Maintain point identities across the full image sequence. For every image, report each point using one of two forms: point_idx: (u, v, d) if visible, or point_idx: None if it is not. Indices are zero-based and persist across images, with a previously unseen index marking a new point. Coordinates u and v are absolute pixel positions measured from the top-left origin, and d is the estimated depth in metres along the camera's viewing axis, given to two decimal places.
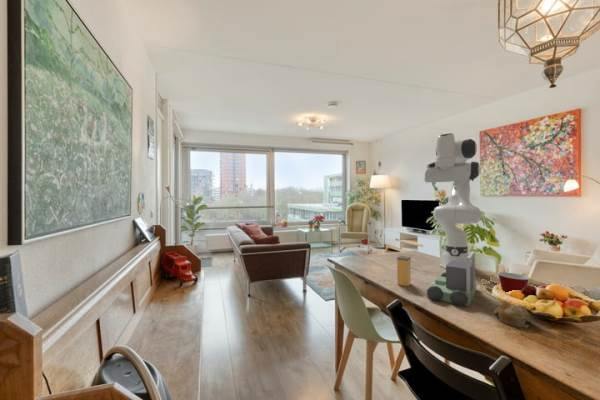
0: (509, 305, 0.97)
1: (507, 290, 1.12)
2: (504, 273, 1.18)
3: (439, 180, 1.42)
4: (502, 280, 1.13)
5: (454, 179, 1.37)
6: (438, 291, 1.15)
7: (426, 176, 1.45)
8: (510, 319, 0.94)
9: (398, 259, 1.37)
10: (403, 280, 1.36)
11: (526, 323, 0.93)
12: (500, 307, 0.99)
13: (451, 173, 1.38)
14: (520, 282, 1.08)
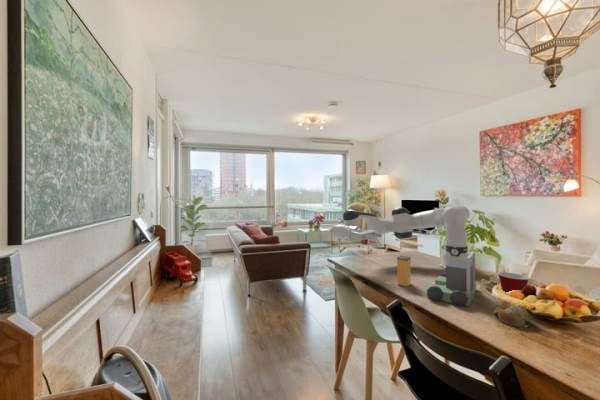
0: (509, 305, 0.97)
1: (507, 290, 1.12)
2: (504, 273, 1.18)
3: (366, 232, 1.49)
4: (502, 280, 1.13)
5: (371, 231, 1.55)
6: (438, 291, 1.15)
7: (356, 232, 1.46)
8: (509, 318, 0.94)
9: (398, 259, 1.37)
10: (403, 280, 1.36)
11: (525, 323, 0.93)
12: (500, 307, 0.99)
13: (365, 231, 1.56)
14: (520, 282, 1.08)
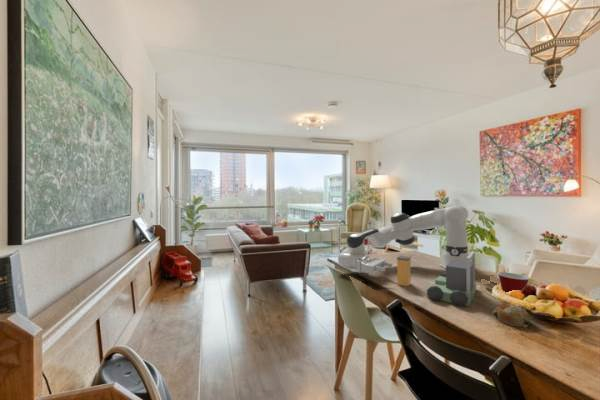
0: (508, 305, 0.97)
1: (507, 290, 1.12)
2: (504, 273, 1.18)
3: (376, 263, 1.44)
4: (502, 280, 1.13)
5: (381, 260, 1.49)
6: (438, 291, 1.15)
7: (367, 264, 1.40)
8: (508, 318, 0.94)
9: (398, 259, 1.37)
10: (403, 280, 1.36)
11: (525, 323, 0.93)
12: (499, 307, 0.99)
13: (374, 260, 1.50)
14: (520, 282, 1.08)
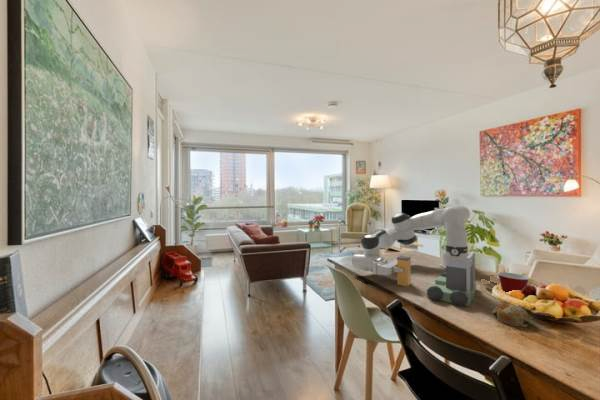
0: (507, 305, 0.97)
1: (507, 290, 1.12)
2: (504, 273, 1.18)
3: (393, 265, 1.39)
4: (502, 280, 1.13)
5: None
6: (438, 291, 1.15)
7: (384, 266, 1.35)
8: (508, 318, 0.94)
9: (398, 259, 1.37)
10: (403, 280, 1.36)
11: (524, 323, 0.93)
12: (498, 307, 0.99)
13: (390, 262, 1.45)
14: (520, 282, 1.08)
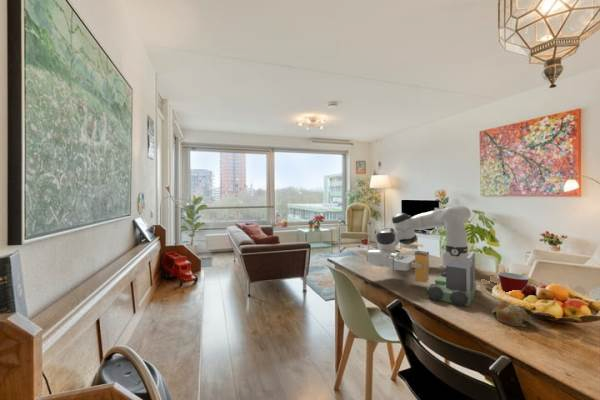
0: (507, 304, 0.97)
1: (507, 290, 1.12)
2: (504, 273, 1.18)
3: (410, 260, 1.33)
4: (502, 280, 1.13)
5: (414, 257, 1.38)
6: (438, 291, 1.15)
7: (401, 261, 1.30)
8: (507, 318, 0.94)
9: (416, 254, 1.31)
10: (421, 276, 1.30)
11: (523, 322, 0.93)
12: (498, 306, 0.99)
13: (407, 257, 1.39)
14: (520, 282, 1.08)
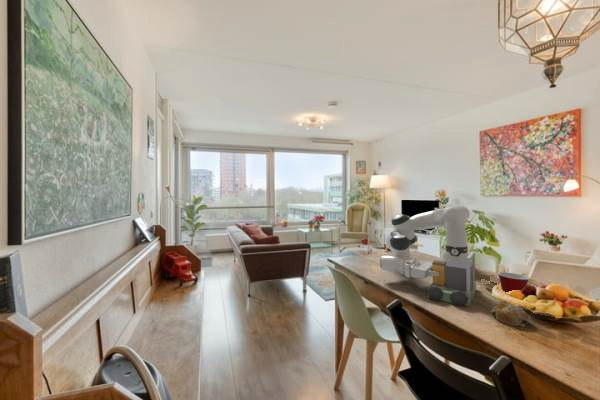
0: (506, 304, 0.98)
1: (507, 290, 1.12)
2: (504, 273, 1.18)
3: (428, 267, 1.28)
4: (502, 280, 1.13)
5: (431, 264, 1.34)
6: (438, 291, 1.15)
7: (419, 268, 1.25)
8: (506, 318, 0.94)
9: (434, 264, 1.26)
10: None
11: (522, 322, 0.93)
12: (497, 306, 0.99)
13: (423, 264, 1.35)
14: (520, 282, 1.08)
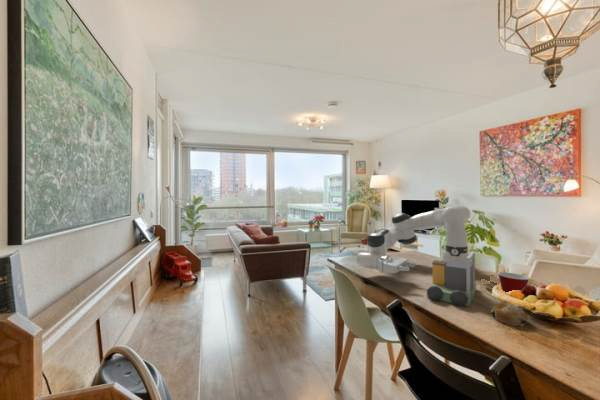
0: (505, 304, 0.98)
1: (507, 290, 1.12)
2: (504, 273, 1.18)
3: (399, 263, 1.37)
4: (502, 280, 1.13)
5: (403, 260, 1.42)
6: (438, 291, 1.15)
7: (390, 264, 1.33)
8: (506, 318, 0.94)
9: (434, 264, 1.26)
10: None
11: (522, 322, 0.94)
12: (496, 306, 1.00)
13: (396, 260, 1.43)
14: (520, 282, 1.08)
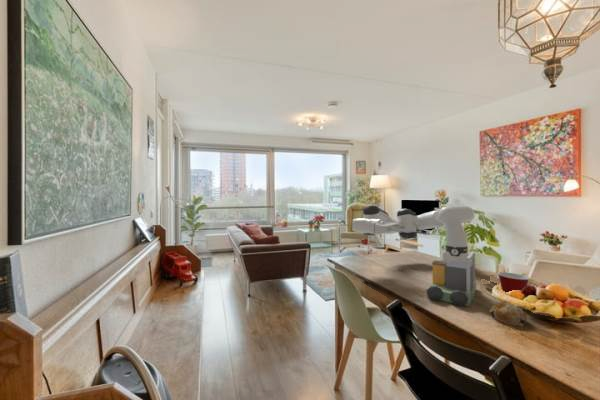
0: (504, 304, 0.98)
1: (507, 290, 1.12)
2: (504, 273, 1.18)
3: (390, 224, 1.46)
4: (502, 280, 1.13)
5: (394, 223, 1.52)
6: (438, 291, 1.15)
7: (381, 225, 1.43)
8: (505, 317, 0.95)
9: (434, 264, 1.26)
10: None
11: (521, 322, 0.94)
12: (495, 306, 1.00)
13: (388, 224, 1.53)
14: (520, 282, 1.08)
